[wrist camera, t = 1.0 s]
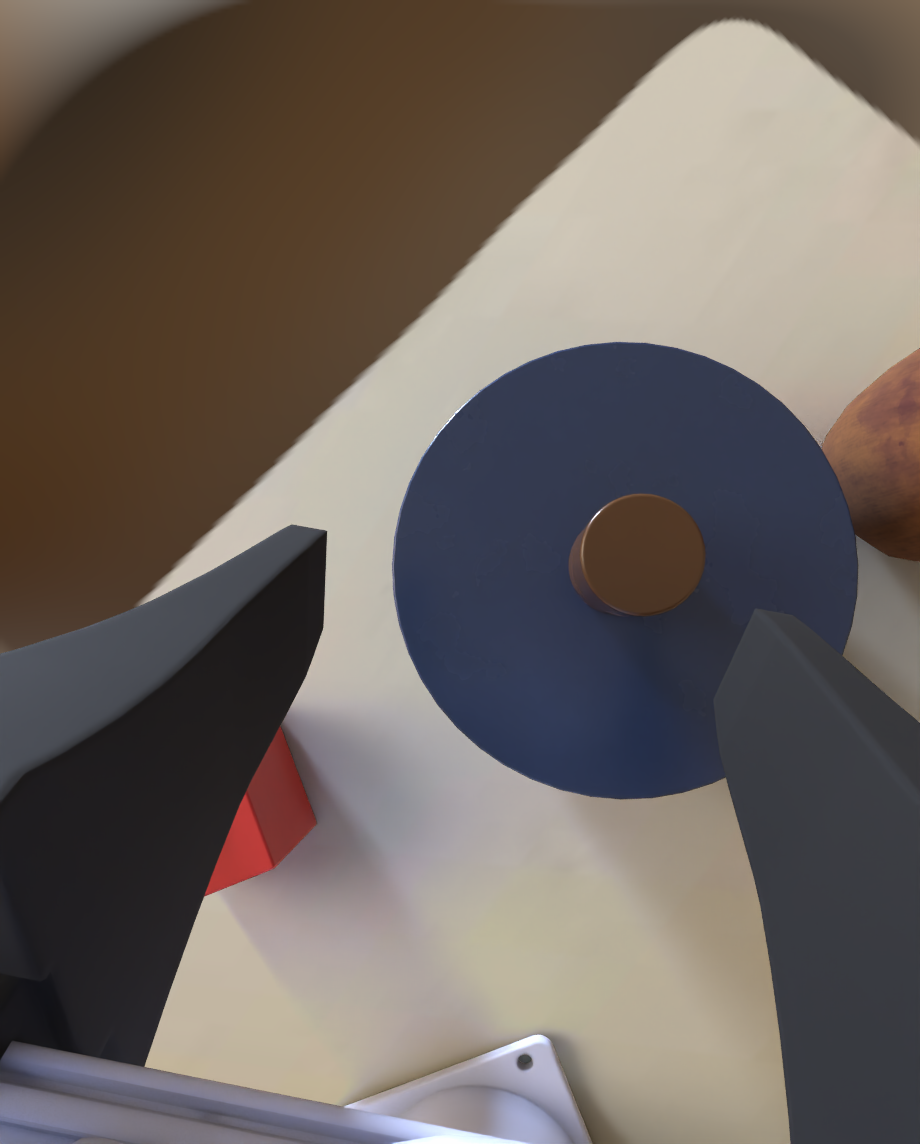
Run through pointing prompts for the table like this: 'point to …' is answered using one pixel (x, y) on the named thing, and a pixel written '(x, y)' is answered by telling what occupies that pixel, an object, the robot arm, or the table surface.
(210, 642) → the robot arm
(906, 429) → the wooden figurine
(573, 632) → the pot lid
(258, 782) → the block
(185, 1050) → the table surface
